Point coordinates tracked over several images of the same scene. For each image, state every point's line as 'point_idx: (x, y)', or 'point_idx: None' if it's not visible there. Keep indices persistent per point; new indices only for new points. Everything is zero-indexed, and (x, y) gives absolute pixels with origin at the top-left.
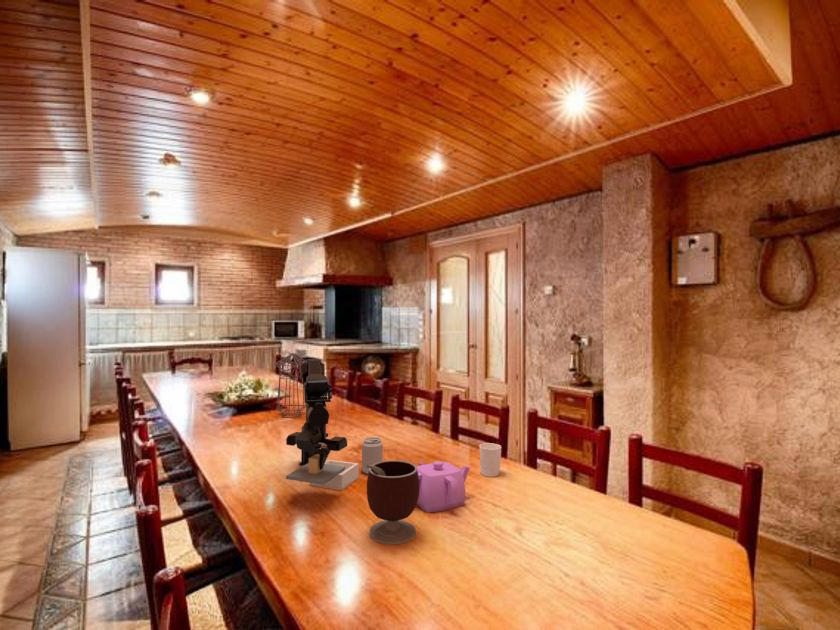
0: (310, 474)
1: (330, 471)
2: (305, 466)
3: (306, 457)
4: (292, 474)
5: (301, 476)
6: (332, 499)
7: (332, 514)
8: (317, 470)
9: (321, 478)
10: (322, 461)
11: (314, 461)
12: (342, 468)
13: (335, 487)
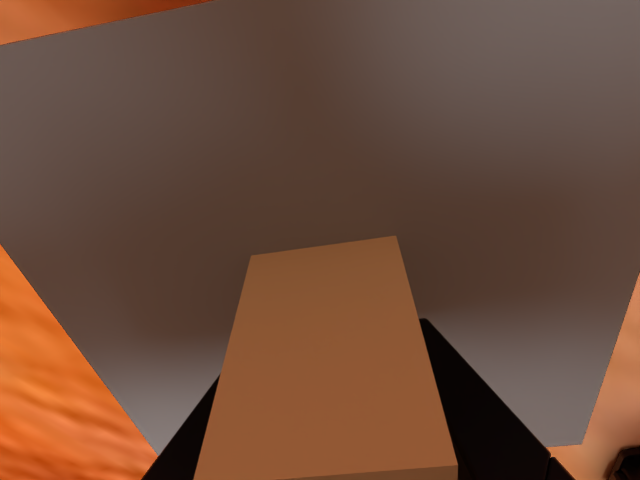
0: (319, 196)
1: (182, 369)
2: (569, 357)
3: (567, 473)
4: (634, 35)
5: (396, 45)
6: None
7: (4, 8)
8: (246, 294)
9: (31, 153)
10: (156, 463)
11: (279, 414)
12: (156, 451)
13: None
